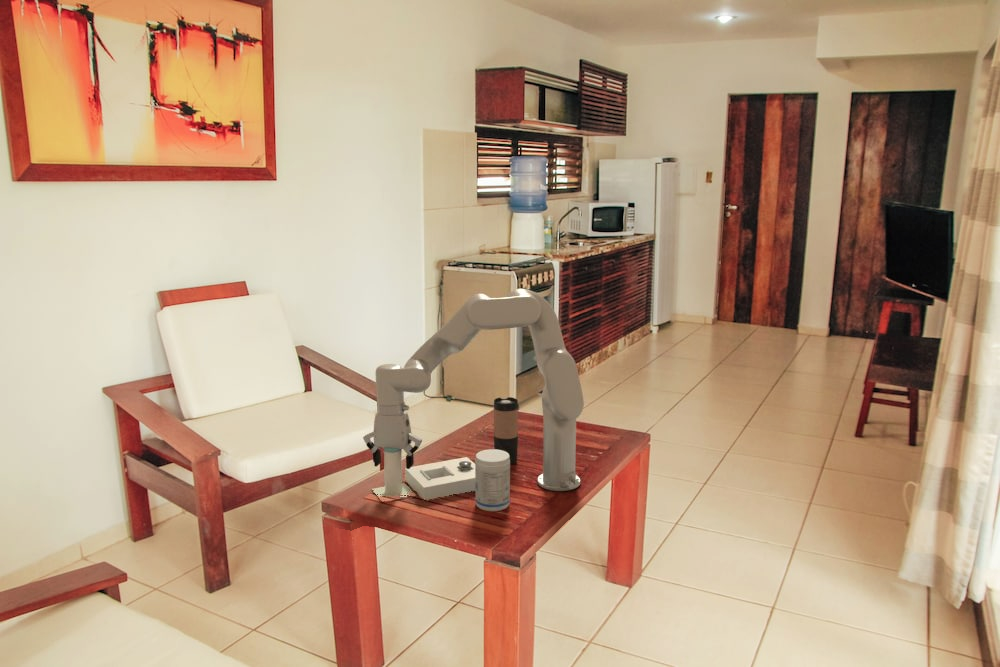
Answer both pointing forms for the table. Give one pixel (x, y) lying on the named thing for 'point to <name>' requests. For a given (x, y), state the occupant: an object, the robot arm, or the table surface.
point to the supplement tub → (492, 480)
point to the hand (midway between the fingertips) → (393, 466)
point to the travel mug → (506, 426)
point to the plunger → (464, 465)
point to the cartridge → (393, 471)
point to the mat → (382, 491)
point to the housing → (441, 478)
